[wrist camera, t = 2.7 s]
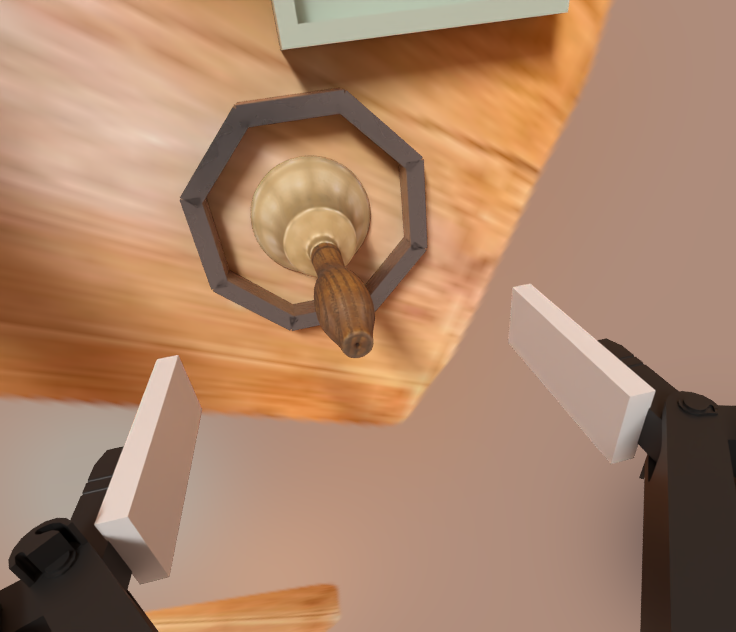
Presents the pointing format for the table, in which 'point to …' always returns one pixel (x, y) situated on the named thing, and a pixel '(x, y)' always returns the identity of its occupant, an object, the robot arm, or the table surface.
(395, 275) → the collar
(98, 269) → the table surface
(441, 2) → the green square tray
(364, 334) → the hand bell
